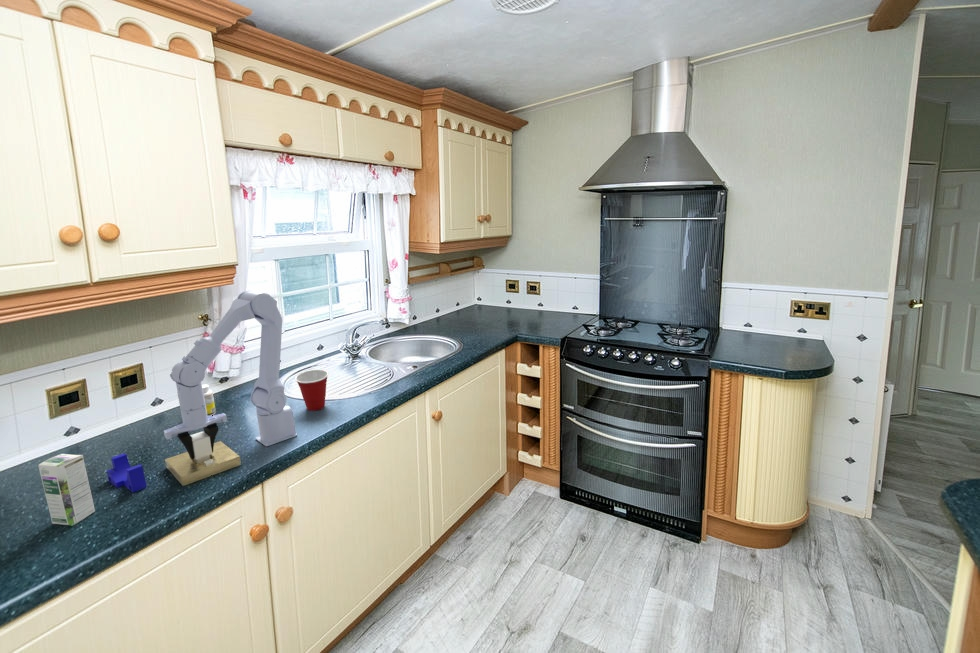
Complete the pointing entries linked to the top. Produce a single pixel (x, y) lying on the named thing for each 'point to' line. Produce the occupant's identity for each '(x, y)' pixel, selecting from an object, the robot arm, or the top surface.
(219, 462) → the socket plate
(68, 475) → the syrup box
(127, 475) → the cable clip
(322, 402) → the plastic cup
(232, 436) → the top surface
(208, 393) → the supplement bottle
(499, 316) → the top surface
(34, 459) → the top surface
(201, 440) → the plug
